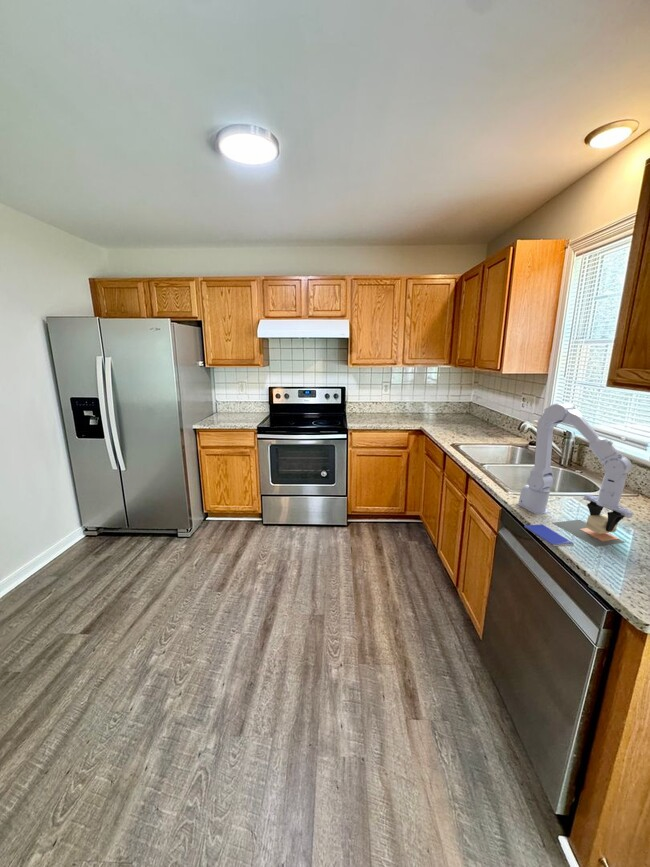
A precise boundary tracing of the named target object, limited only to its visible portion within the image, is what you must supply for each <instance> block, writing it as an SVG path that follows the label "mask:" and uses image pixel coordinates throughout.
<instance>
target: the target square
mask: <svg viewBox="0 0 650 867" xmlns="http://www.w3.org/2000/svg"><path fill="white" fill-rule="evenodd" d="M580 530H582V531H583V532H585V533H587V534H589V535H591V536H593V537H595V538H597V539H599V540H601V541H610V540H617V539H620V538H619V537H617V536H615V535H613V534H611V533H610V532H609V533H602V534H598V533H596V532H594V531H592V530H590V529H588V528H583V529H580Z"/></svg>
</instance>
